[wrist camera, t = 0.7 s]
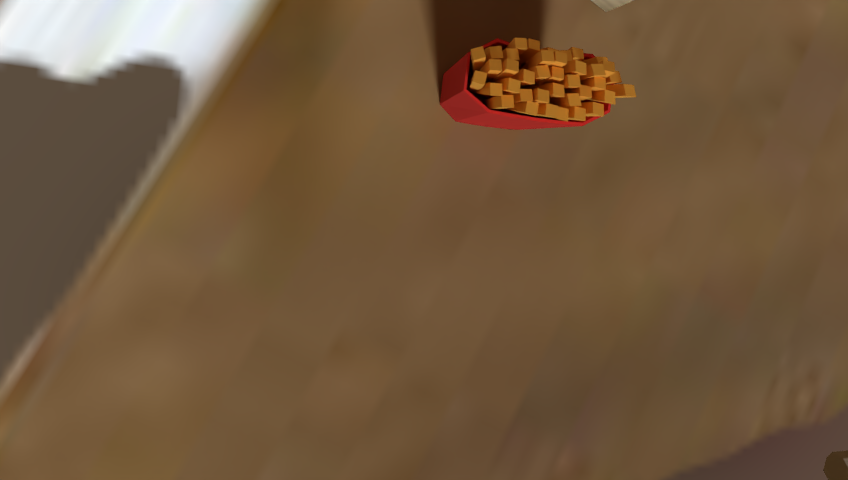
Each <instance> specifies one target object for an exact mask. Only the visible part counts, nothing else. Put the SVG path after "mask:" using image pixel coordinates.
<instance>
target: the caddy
mask: <svg viewBox="0 0 848 480" xmlns="http://www.w3.org/2000/svg"><path fill="white" fill-rule="evenodd" d="M591 1H592V2H594V3H595V4H596V5H597V6H599V7H600V8H601V9H603V10H604V11H605V12H607V11H610V10H612V9H615V8H617V7H619V6H622V5H624V4H627V3H629V2H631V1H634V0H591Z"/></svg>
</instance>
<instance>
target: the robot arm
mask: <svg viewBox="0 0 848 480" xmlns="http://www.w3.org/2000/svg"><path fill="white" fill-rule="evenodd" d="M823 471H824V473H825V475H826V476H827V478H828V480H848V451H838V452H832V453H831V454H830V455H829V456H828V457H827V458H826V462H825V466H824V470H823Z"/></svg>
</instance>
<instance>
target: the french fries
mask: <svg viewBox="0 0 848 480" xmlns="http://www.w3.org/2000/svg"><path fill="white" fill-rule="evenodd" d="M621 82H622V81H621V77H620V73H619V71H615V66H614V62H610V61H608V59H607V57H595V56H594V55H593V54H586V53H583V49H579V48H574V47H571V48H570V49H568V50H561V51H559V50H556V49H553V48H549V47H547V48H543V49H540V41H538V40H534V39H530V38H529V39H527V40H526V38H514V39H513V40H512V41H511V42H507V41H504V40H501V39H498V38H497V39H495V40H493V41H491V42H489V43H487V44H485V45H483V46H481V47H477V48H473V49H471V51H470V52H468V53H467V54H466V55H465V56H464V57H462V58H461V59H460V60H459V61H458V62H457V63H455V64H454V65H453V66H452V67H451V68H450V69H449V70H447V71H446V72H445V73H444V74H443V82H442V90H441V99H440V105H441V106H442V107H443V108H444V109H445V110H446V112H447V113H448V114H449V115H450V116H451V117H452V118H453V119H454V120H455V121H457V122H462V123H467V124H473V125H480V126H486V127H494V128H503V129H515V130H519V129H537V128H554V127H572V126H583V125H585V124H587V123H589V122H591V121H593V120H595V119H597V118H599V117H601V116H604V115H605V114H607V113H609V112H610V107H611V104H615V98H622V97H636V94H635V89H634V85H629V84H616V83H621ZM614 84H616V85H614Z"/></svg>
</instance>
